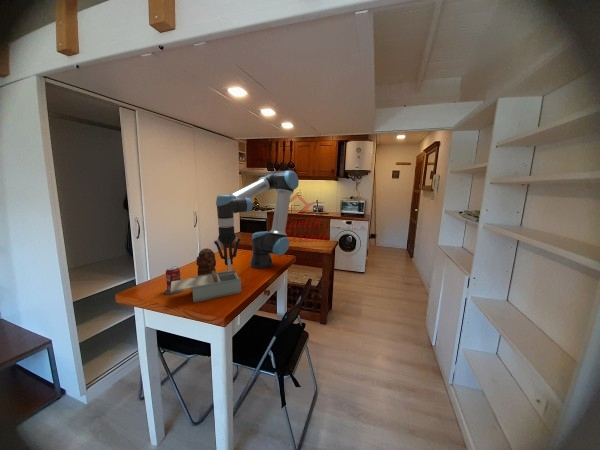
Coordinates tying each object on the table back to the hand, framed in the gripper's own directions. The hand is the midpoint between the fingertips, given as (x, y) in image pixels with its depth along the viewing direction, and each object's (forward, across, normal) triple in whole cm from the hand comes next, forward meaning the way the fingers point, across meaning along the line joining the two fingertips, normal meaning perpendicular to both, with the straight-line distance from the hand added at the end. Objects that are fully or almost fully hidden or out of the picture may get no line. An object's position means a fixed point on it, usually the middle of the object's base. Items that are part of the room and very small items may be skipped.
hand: (229, 270), depth 115 cm
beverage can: (+10, +26, -10) cm, 30 cm away
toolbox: (+10, +7, +1) cm, 12 cm away
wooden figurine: (+10, +9, -19) cm, 24 cm away
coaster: (+10, +26, -10) cm, 30 cm away
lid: (+3, +16, +1) cm, 16 cm away
